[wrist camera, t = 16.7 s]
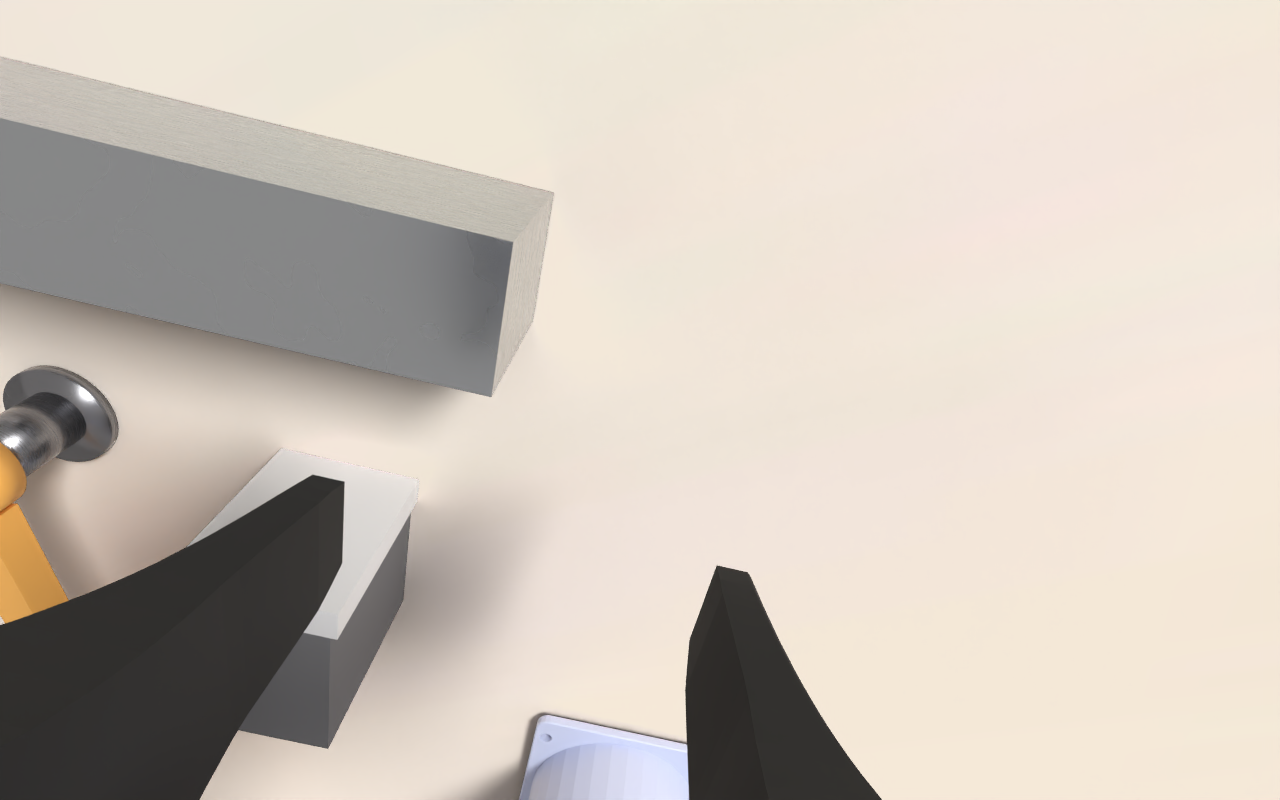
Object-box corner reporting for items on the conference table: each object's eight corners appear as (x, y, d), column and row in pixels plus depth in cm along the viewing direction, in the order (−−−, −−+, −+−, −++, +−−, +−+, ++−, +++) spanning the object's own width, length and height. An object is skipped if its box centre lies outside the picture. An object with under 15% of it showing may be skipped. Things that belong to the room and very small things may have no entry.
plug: (404, 646, 29) (333, 798, 24) (285, 620, 29) (184, 768, 23) (419, 479, 25) (337, 614, 20) (281, 447, 25) (158, 575, 19)
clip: (127, 795, 30) (100, 831, 29) (-85, 425, 21) (-137, 452, 20) (191, 799, 30) (167, 836, 28) (2, 427, 21) (-44, 455, 20)
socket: (532, 325, 22) (490, 402, 18) (9, 201, 21) (-169, 249, 17) (553, 192, 20) (513, 241, 16) (-22, 51, 19) (-232, 61, 15)
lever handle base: (124, 465, 26) (53, 520, 23) (23, 442, 26) (-60, 495, 23) (110, 379, 24) (33, 427, 21) (3, 354, 24) (-89, 399, 21)
